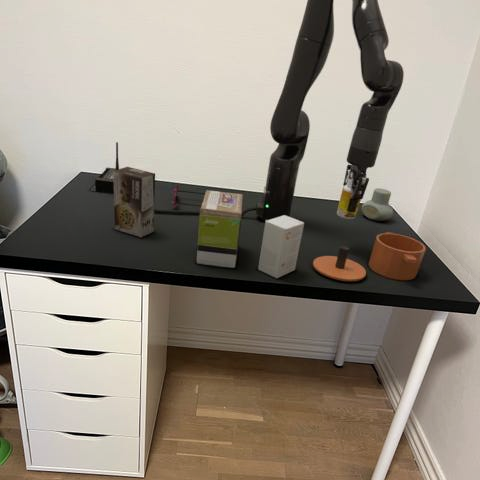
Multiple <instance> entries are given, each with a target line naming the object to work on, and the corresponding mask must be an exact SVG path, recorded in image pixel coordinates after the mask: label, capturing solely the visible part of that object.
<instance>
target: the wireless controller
mask: <svg viewBox="0 0 480 480" xmlns="http://www.w3.org/2000/svg"><path fill="white" fill-rule="evenodd" d="M119 169H120V164H119V142H118V141H117V142H115V168H114V167H106V168H105V169H104V171H102V172H101V174H99V176H97V177H96V178H95V179H94V186H92V188H91V189H90V191H91V192H96V193H97V192H98V193H105V194H113V195H114V177H113V171H116V170H119Z"/></svg>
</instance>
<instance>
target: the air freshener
mask: <svg viewBox="0 0 480 480" xmlns="http://www.w3.org/2000/svg"><path fill="white" fill-rule="evenodd" d="M391 197H392V191H390V190H388V189H385V188H380V187H377V188H374V190H373V193H372V195H371V199H370V200H367V201H365V202H364V203H362V205H361V212H362V214H363V215H364V216H365V217H366V218H367V219H368V220H371V221H375V222H381V221H382V222H383V221H387V220H389V219H391V218H392V217H393V215H394V209H393V207H392V206H391V204H390V199H391Z"/></svg>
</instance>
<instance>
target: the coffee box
mask: <svg viewBox="0 0 480 480" xmlns="http://www.w3.org/2000/svg"><path fill="white" fill-rule="evenodd" d="M113 177H114V194H113V206H114V207H113V208H114V230H115V231H118V232H123V233H126V234H129V235H132V236H135V237H139V238H143V237H145V236H147V235H149V234H152V233H154V231H155V212H154V209H155V196H156V195H155V193H156V173H154V172H150V171H147V170H142V169H139V168H134V167H131V166H124V167H121V168H119V170H116V171H113Z"/></svg>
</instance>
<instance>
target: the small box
mask: <svg viewBox="0 0 480 480" xmlns="http://www.w3.org/2000/svg"><path fill="white" fill-rule="evenodd" d="M304 226H305V222H304V221H301V220H299V219H297V218H294V217H291V216H290V217H288V216H285V215H283V216H280V217H277V218H274V219H270V220H267V221H265V223H264V227H263V233H262V235H263V236H262V240H261V241H262V242H261V248H260V254H259V260H258V267H257V269H258V271H260V272H262V273H265V274H267V275H269V276H271V277H273V278H275V279H279V278H281V277H283V276H285V275H287V274H290V273H291V272H293V271H295V270H296V266H297V261H298V257H299V256H298V255H299V252H300V251H299V250H300V246H301V242H302V236H303V231H304Z"/></svg>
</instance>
